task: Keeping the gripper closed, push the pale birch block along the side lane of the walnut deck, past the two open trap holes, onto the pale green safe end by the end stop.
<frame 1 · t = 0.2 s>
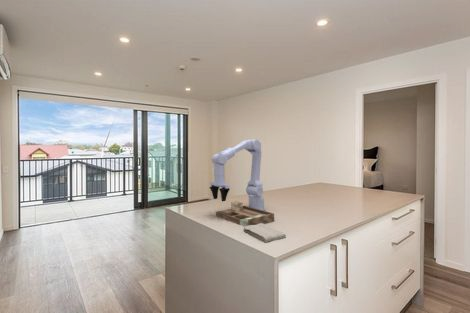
hand: (219, 199, 138), 10 cm above the table, tool pointing down, fingers open, 7 cm apart
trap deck: (243, 218, 136), on the table
washcloth: (263, 235, 111), on the table
birch block: (237, 208, 147), point 2 cm above the table, touching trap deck
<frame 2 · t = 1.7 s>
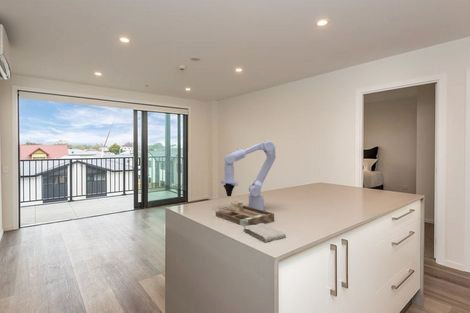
hand: (229, 196, 153), 9 cm above the table, tool pointing down, fingers closed
nothing on the table moved.
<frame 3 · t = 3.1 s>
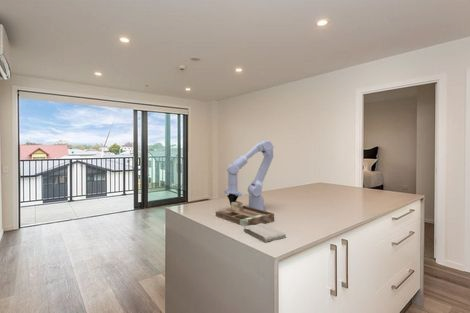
hand: (232, 206, 150), 3 cm above the table, tool pointing down, fingers closed
birch block: (237, 208, 147), point 3 cm above the table, touching gripper, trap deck
everything else where it was.
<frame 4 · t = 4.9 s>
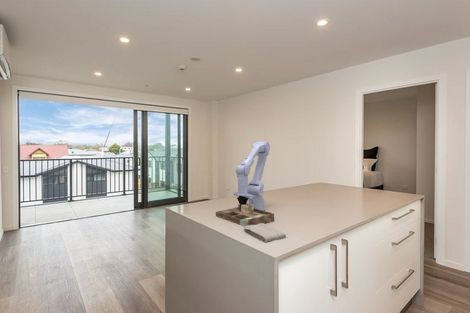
hand: (242, 209, 143), 3 cm above the table, tool pointing down, fingers closed
birch block: (247, 212, 140), point 2 cm above the table, touching gripper, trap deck
everything else where it was.
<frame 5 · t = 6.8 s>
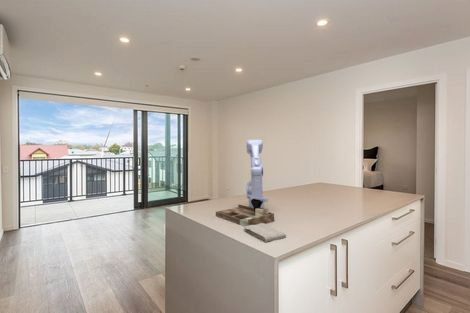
hand: (256, 213, 135), 3 cm above the table, tool pointing down, fingers closed
birch block: (262, 216, 131), point 2 cm above the table, touching gripper, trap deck
everything else where it was.
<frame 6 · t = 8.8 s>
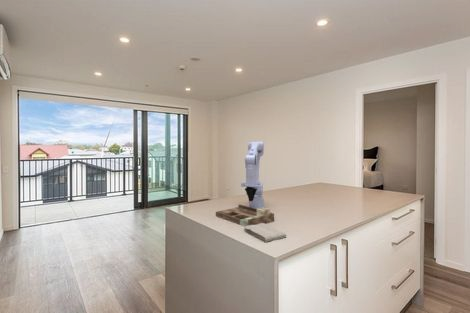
hand: (251, 200, 138), 9 cm above the table, tool pointing down, fingers closed
birch block: (263, 216, 131), point 2 cm above the table, touching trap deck
everything else where it was.
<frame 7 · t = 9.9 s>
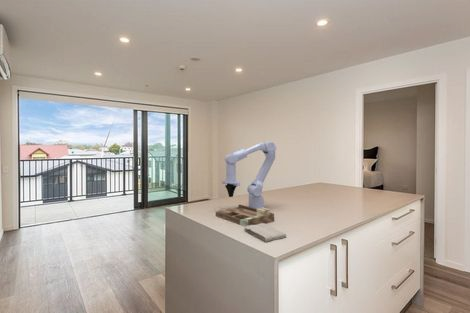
hand: (230, 196, 149), 9 cm above the table, tool pointing down, fingers closed
nothing on the table moved.
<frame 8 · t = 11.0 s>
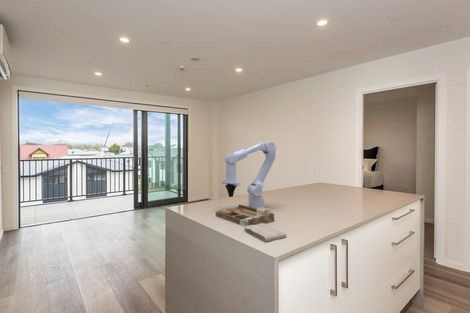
hand: (230, 196, 149), 9 cm above the table, tool pointing down, fingers closed
nothing on the table moved.
at the end: birch block inside the target area on the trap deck (0.8 cm from its centre), point 2.5 cm above the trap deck's base; birch block tilted 0° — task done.
